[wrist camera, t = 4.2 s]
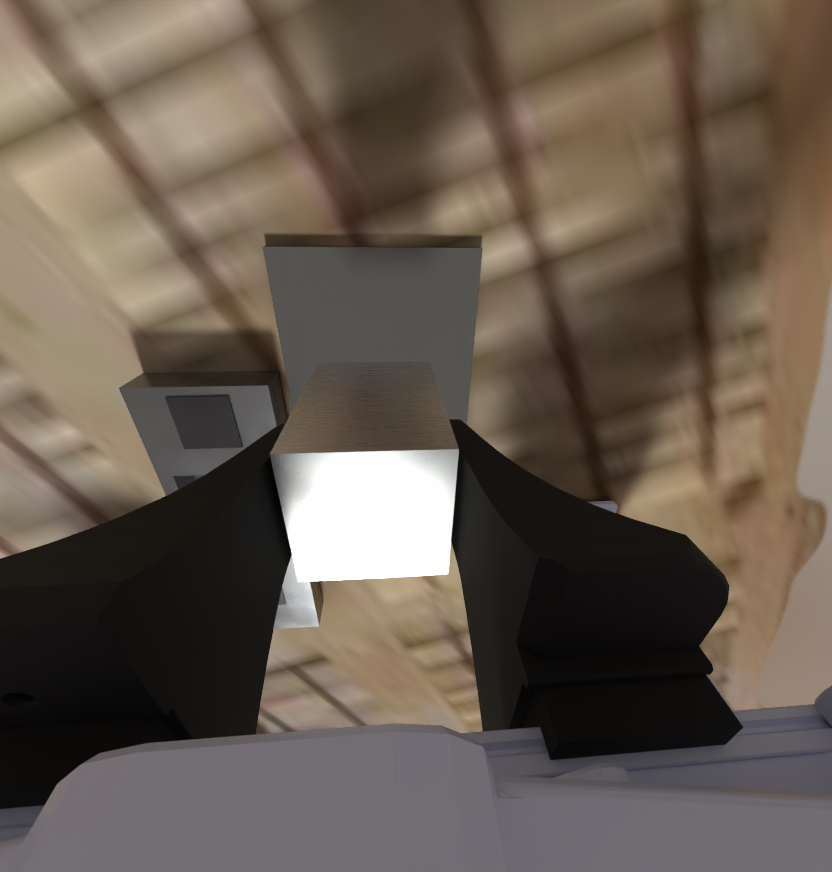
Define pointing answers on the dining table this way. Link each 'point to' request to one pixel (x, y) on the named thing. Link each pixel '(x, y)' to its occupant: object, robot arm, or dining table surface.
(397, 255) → the mat
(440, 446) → the grey rectangular block
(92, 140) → the dining table surface
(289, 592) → the grey slotted board
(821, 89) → the dining table surface
